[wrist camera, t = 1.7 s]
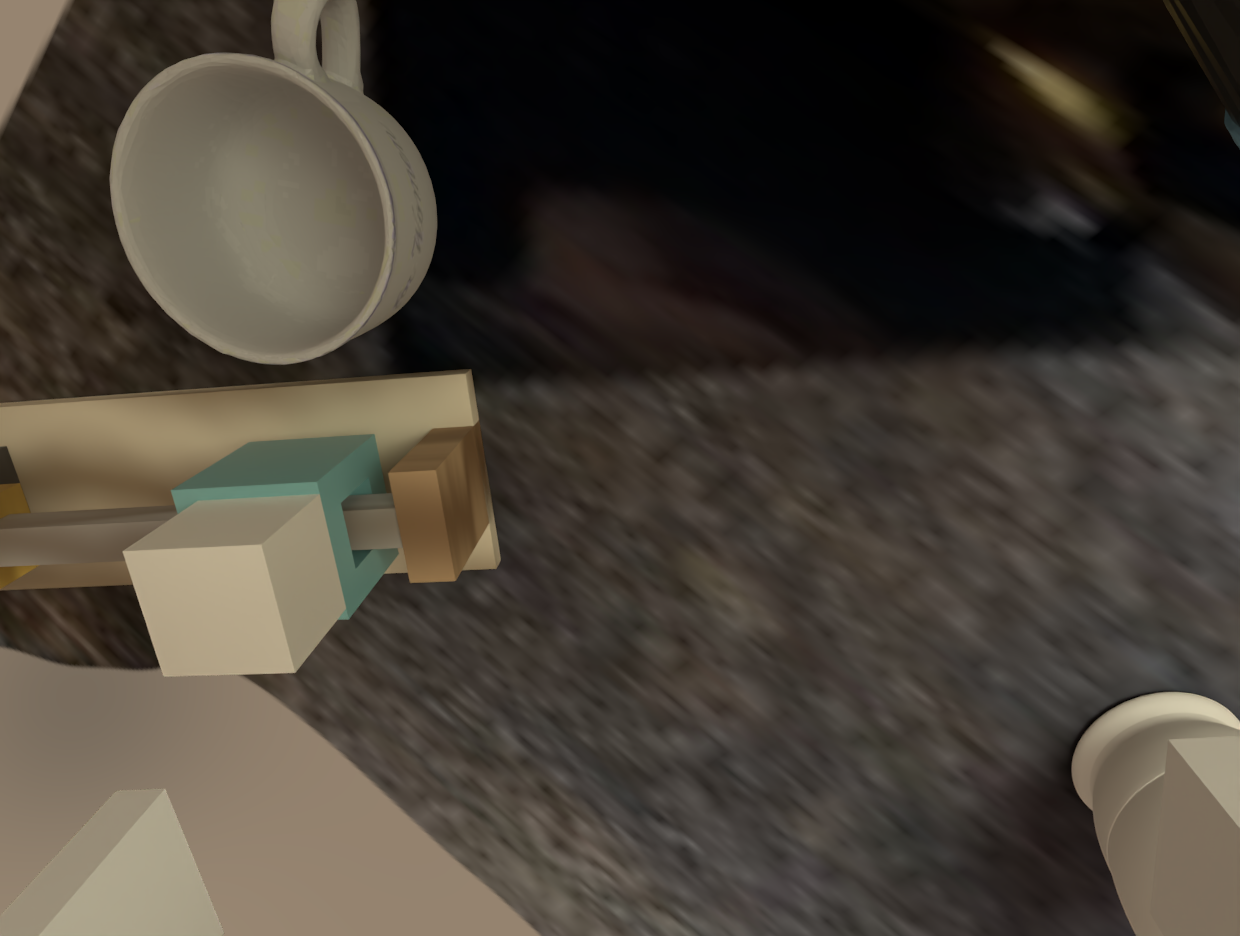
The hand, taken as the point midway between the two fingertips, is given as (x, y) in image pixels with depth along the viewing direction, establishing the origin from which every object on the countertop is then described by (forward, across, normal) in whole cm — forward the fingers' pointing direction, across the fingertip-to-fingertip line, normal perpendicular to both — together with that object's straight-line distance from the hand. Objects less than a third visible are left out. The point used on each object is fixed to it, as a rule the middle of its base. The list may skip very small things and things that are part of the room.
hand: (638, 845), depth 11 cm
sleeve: (+25, -17, -4) cm, 31 cm away
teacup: (+29, -14, +10) cm, 33 cm away
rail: (+28, -24, -4) cm, 37 cm away
